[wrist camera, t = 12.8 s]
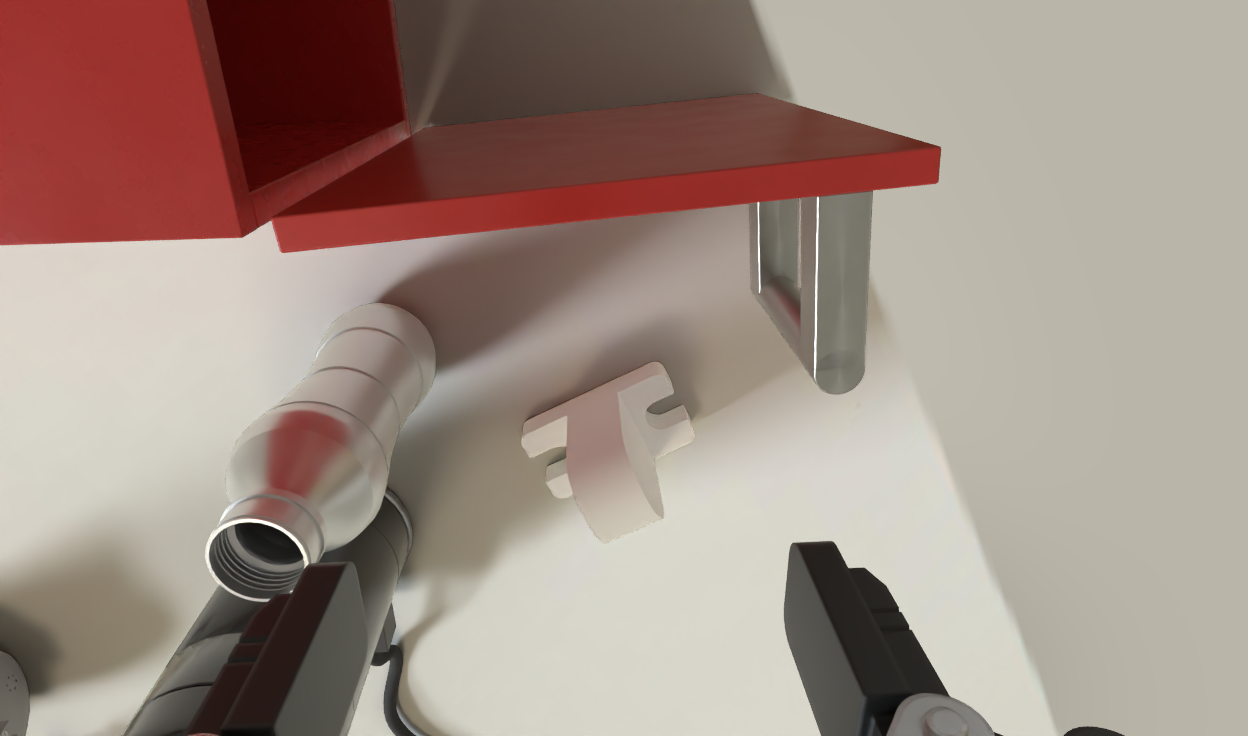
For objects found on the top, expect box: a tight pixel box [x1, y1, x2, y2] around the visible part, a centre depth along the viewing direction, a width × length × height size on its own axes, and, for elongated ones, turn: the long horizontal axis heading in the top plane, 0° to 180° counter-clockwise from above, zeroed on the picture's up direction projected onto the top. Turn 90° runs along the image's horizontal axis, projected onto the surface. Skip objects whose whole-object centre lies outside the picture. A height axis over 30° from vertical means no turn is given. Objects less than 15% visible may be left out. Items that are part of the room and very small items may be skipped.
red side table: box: [271, 93, 941, 394], centre depth 31 cm, size 7×18×22 cm, turn 95°
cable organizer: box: [521, 362, 695, 543], centre depth 43 cm, size 5×10×10 cm, turn 116°
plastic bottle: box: [205, 303, 436, 602], centre depth 35 cm, size 6×7×20 cm
